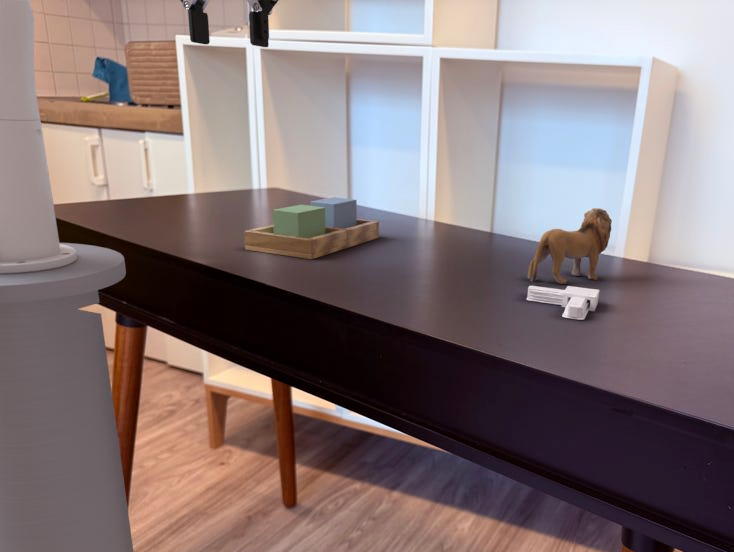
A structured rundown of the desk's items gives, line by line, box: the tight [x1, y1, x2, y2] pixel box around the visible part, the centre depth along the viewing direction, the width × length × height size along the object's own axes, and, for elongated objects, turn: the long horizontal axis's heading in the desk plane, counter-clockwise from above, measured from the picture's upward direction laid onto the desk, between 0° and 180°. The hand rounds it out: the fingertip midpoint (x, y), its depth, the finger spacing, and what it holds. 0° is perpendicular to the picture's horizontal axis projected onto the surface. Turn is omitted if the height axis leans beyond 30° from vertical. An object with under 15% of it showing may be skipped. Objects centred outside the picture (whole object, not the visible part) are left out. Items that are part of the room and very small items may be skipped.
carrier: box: [243, 218, 380, 260], centre depth 99 cm, size 20×10×3 cm, turn 162°
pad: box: [272, 204, 325, 238], centre depth 94 cm, size 7×4×5 cm, turn 162°
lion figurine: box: [527, 207, 613, 285], centre depth 87 cm, size 15×5×9 cm, turn 136°
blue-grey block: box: [309, 196, 357, 229], centre depth 102 cm, size 7×4×5 cm, turn 162°
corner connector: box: [526, 285, 600, 321], centre depth 74 cm, size 8×8×2 cm
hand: (229, 44), depth 91 cm, fingers open, 9 cm apart
